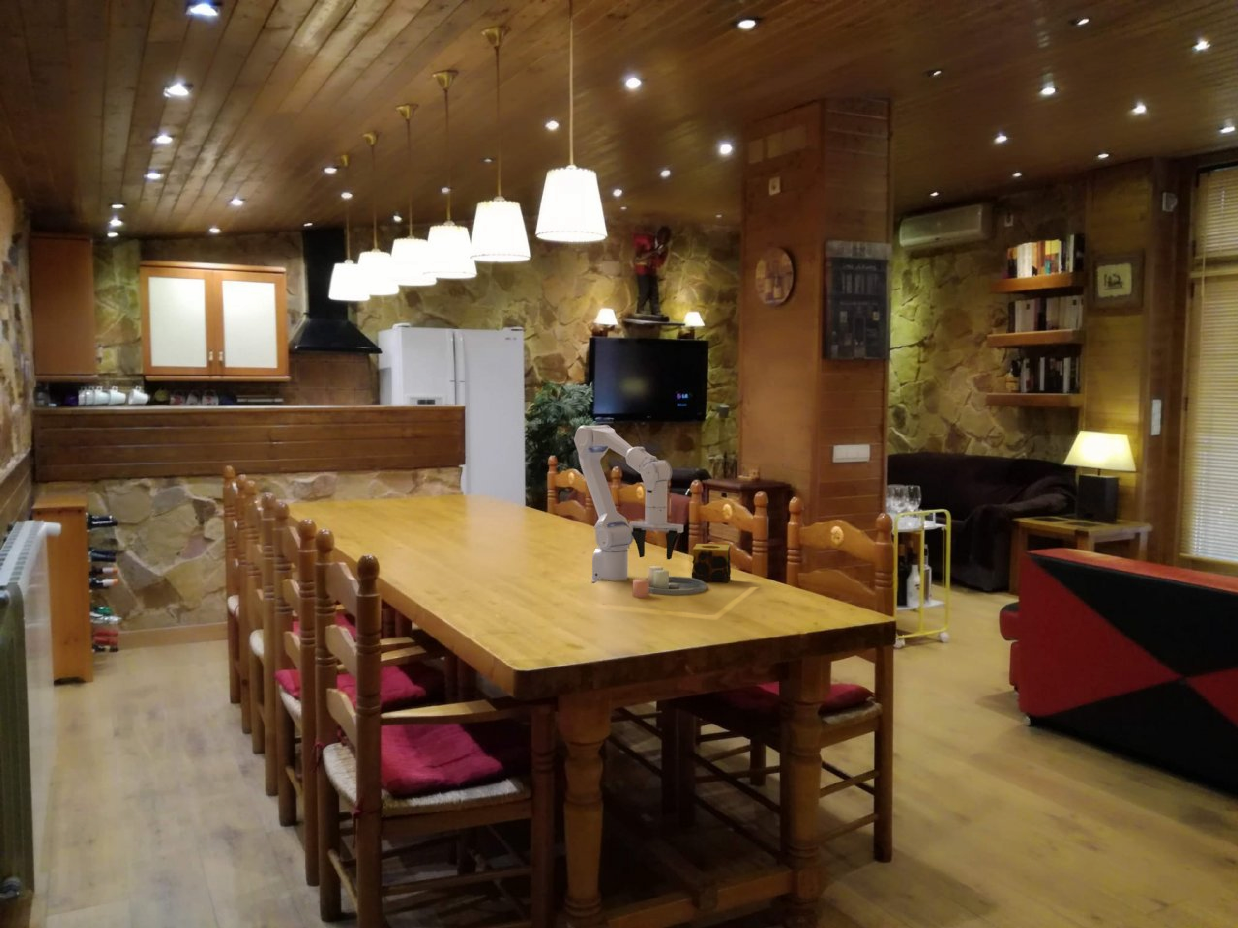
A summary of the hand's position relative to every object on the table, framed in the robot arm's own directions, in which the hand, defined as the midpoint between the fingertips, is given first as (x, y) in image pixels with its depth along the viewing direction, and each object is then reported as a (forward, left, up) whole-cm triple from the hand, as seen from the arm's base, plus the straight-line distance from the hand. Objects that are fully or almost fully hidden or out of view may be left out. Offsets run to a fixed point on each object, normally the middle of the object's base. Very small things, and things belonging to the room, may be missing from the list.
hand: (655, 557), depth 251 cm
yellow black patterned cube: (+11, +16, -9) cm, 21 cm away
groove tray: (+5, 0, -9) cm, 10 cm away
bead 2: (0, 0, -8) cm, 8 cm away
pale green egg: (+3, -5, -8) cm, 9 cm away
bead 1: (+1, -13, -9) cm, 16 cm away
